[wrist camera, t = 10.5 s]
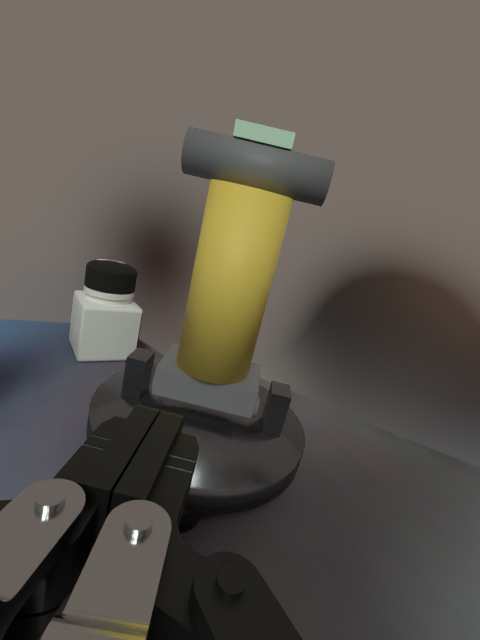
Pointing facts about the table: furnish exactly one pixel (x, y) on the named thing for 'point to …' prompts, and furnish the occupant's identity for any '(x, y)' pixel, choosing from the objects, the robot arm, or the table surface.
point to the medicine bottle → (105, 313)
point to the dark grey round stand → (215, 440)
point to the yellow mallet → (235, 260)
